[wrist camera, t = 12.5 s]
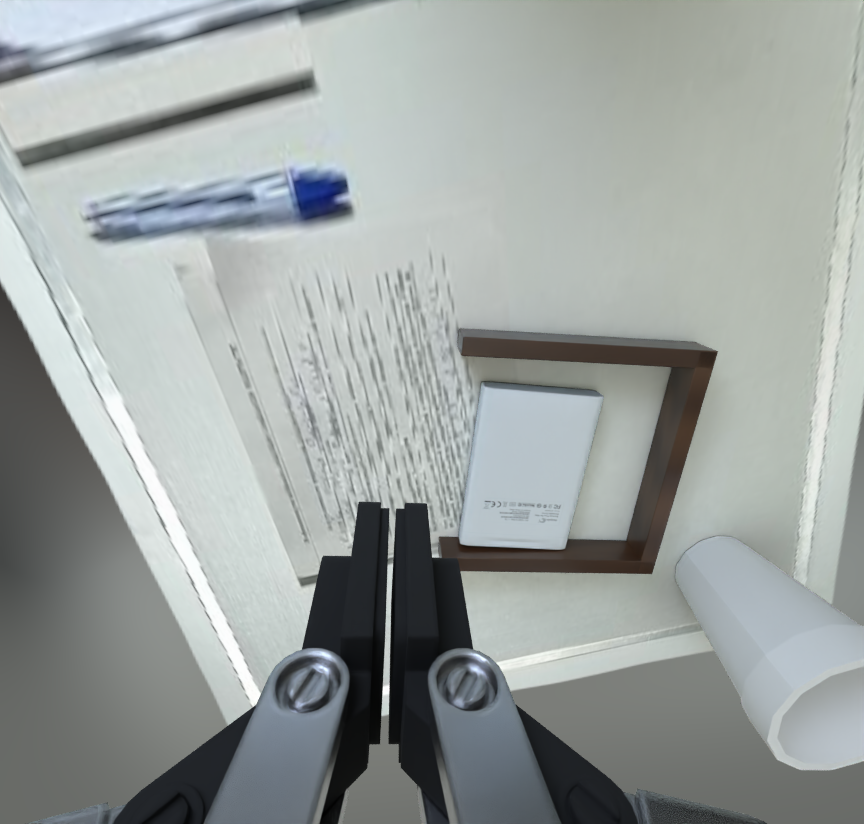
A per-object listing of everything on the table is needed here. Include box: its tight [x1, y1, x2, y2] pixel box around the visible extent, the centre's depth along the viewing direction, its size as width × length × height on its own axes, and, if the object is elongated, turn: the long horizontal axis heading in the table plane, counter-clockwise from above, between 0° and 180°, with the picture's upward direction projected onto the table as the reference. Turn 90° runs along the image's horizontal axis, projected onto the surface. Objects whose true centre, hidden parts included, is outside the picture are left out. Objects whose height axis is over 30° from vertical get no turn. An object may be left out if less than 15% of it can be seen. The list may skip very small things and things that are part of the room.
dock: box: [438, 328, 718, 574], centre depth 34 cm, size 17×16×2 cm
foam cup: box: [675, 536, 864, 770], centre depth 34 cm, size 10×9×13 cm
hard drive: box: [458, 381, 604, 550], centre depth 34 cm, size 2×8×12 cm
